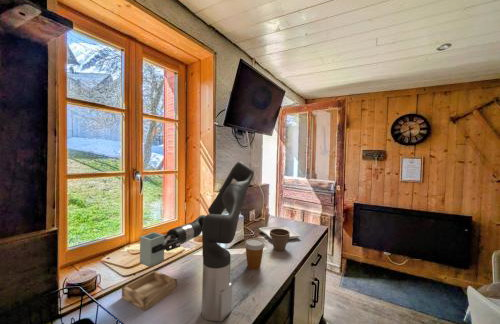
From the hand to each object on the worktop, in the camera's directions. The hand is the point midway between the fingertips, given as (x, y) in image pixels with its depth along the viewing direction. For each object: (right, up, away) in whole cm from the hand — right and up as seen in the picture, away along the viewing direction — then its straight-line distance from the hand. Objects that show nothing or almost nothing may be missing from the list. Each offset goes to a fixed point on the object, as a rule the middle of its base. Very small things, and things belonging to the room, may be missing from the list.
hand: (146, 248), depth 82 cm
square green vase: (+1, -6, +2) cm, 6 cm away
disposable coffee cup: (+40, -19, +25) cm, 51 cm away
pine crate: (0, -18, +2) cm, 18 cm away
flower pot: (+55, -18, +46) cm, 74 cm away
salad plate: (+58, -18, +68) cm, 91 cm away
